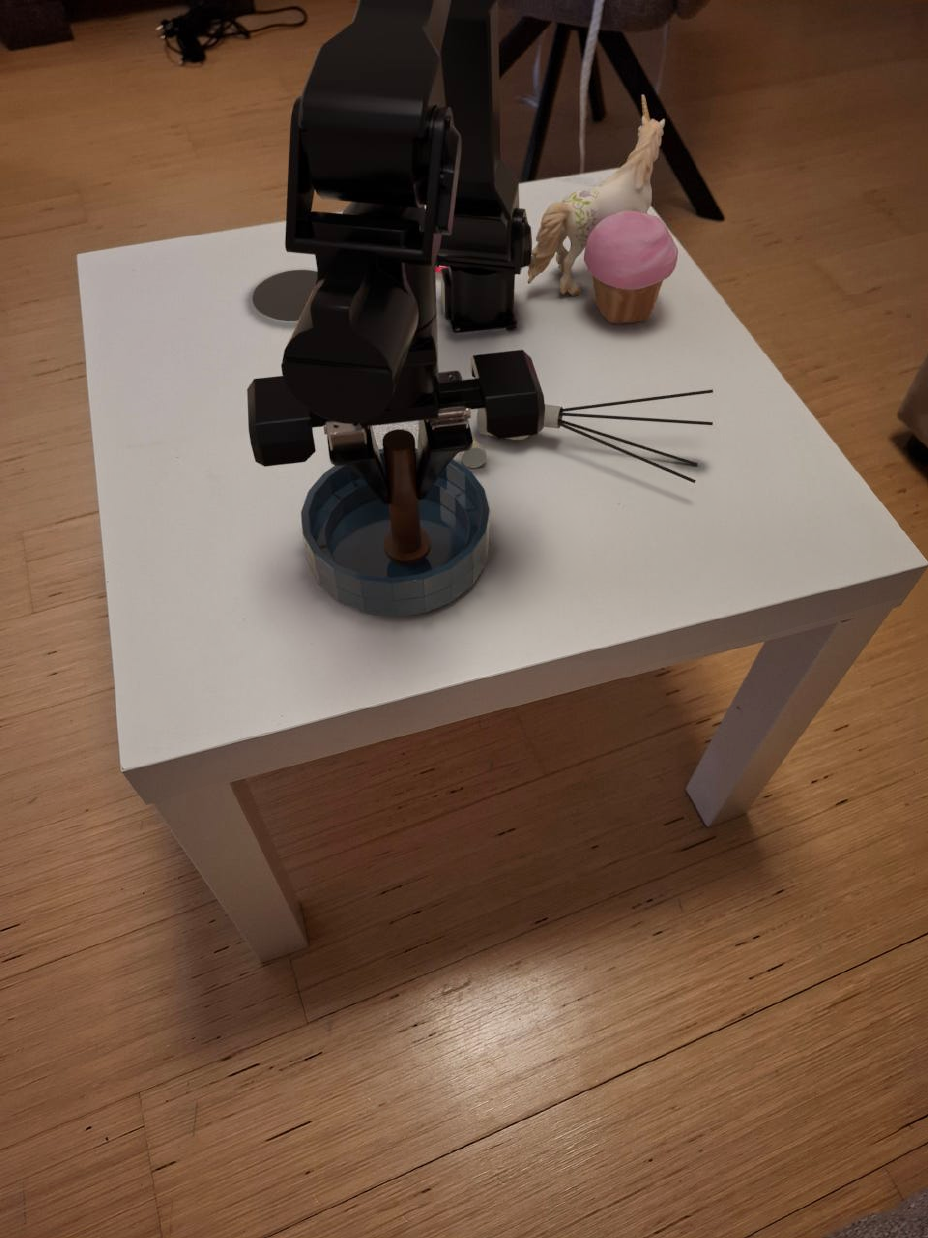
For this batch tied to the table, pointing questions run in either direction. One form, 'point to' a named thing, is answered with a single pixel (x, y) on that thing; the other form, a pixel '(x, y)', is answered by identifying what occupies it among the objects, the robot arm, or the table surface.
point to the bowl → (359, 522)
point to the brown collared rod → (403, 500)
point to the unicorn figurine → (597, 206)
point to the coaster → (285, 294)
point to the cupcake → (629, 264)
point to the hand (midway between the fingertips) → (403, 497)
